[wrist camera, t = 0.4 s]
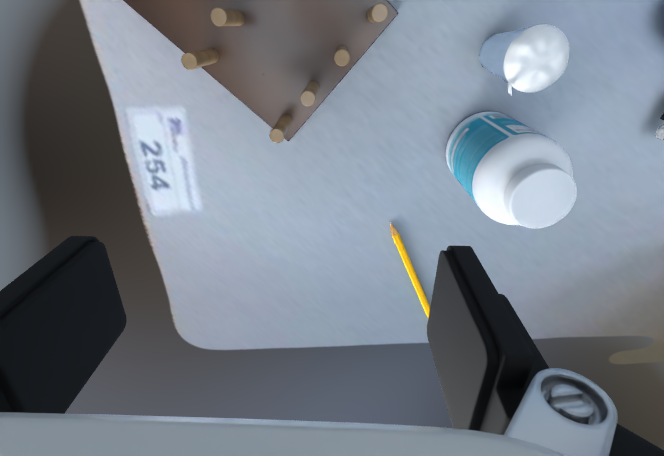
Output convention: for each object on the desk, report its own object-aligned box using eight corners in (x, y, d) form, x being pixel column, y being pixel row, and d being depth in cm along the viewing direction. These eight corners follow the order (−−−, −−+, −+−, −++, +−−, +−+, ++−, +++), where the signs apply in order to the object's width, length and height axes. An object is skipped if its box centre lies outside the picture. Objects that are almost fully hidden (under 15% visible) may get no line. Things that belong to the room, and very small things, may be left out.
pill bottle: (454, 191, 42) (499, 258, 30) (435, 127, 38) (477, 173, 26) (524, 165, 40) (602, 225, 28) (511, 97, 37) (592, 132, 25)
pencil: (437, 338, 52) (438, 342, 51) (386, 221, 44) (386, 224, 43) (442, 336, 51) (444, 340, 51) (392, 218, 43) (393, 221, 43)
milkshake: (454, 58, 35) (491, 69, 27) (504, 12, 34) (563, 7, 25) (481, 95, 37) (526, 118, 28) (532, 53, 35) (596, 63, 26)
